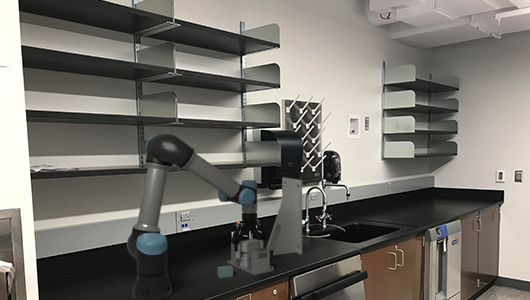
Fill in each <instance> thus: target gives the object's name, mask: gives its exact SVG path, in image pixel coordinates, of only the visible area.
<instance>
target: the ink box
mask: <svg viewBox="0 0 530 300" xmlns="http://www.w3.org/2000/svg"><path fill="white" fill-rule="evenodd" d="M254 249H259V239H256V238H250V239H245V240H241V242H240V265H241V266H244V267H250V266H251V250H254Z"/></svg>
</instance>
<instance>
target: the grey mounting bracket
mask: <svg viewBox="0 0 530 300" xmlns="http://www.w3.org/2000/svg"><path fill="white" fill-rule="evenodd" d="M281 181H282V182H281V190H282V191H281V195H282V197H281V199H282V200H281V202H280V205H279V208H278V212H277V216H276V217H275V221H274V224H273V227H272V231H271V232H270V235H269V239H268V241H267V245H266V247H265V248H266V249H269V250H270V252H271V251H273V253H272V256H279V255H286V254H293V253H296V254H298V255H303V179H297V178H291V177H282V179H281Z"/></svg>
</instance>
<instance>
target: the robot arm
mask: <svg viewBox="0 0 530 300" xmlns="http://www.w3.org/2000/svg"><path fill="white" fill-rule="evenodd" d="M144 150H145V153H146V157H145V162H144V163H145V165H146V166H147V171H146V174H145V175H146V177H145V181H144V187H143V191H142V192H143V193H142V196H141V202H140V205H139V206H140V207H139V212H138V219H137V222H136V224H134V225H133V226H132V229H131V234H130V235H129V236H128V238H127V240H126V247H127V250H128V253H129V254H130V256H131V257H132V258H134V260H136V279H135V283H134V286H133V288H132V299H134V300H165V299H167V298H169V297H170V296H171V295H172V294H173V286H172V284H171V281H170V279H169V275H168V239H167V236H166V235H164V234H162V233H161V228H160V227H159V221H160V216H161V211H162V204H163V199H164V195H165V189H166V184H167V180H168V179H167V178H168V173H169V171H170V170H171V169H172V168H173V166H174V165H175V166H176V167H177V168H179V169H185V170H187V171H189V173H192V174H193V175H195V176H197V178H199V179H201V180H202V181H204V182H206V183H207V184H209V185H210V186H211V187H213V188H215V190H217V197H218V200H219V201H220V202H221V203H228V202H231V203H232V204H233V203H234V204H238V205H240V206H241V220H242V222H241V223H239V222H237V223H236V224H235V230H234V232H233V234H232V237H231V239H230V244H231V243H232V244H234V251H236V258H238V259H240V245H239V242H240V241H242V240H243V237H244V236H245V235H246V234H247V233H249V232H254V233H255V234H256V236H257V237H258V238H259V239H258V249H259V248H265V241H266V240H267V239H268V234H267V232H266V229H265V228H264V225H263V221H262V220H260V219H259V220H258V181H257V180H254V179H253V180H252V179H246V180H242V181H241V184H240V183H239V182H238V181H236V180H235V179H234V178H232V177H231V176H229V175H228V174H226V173H224V172H223V171H222V170H221V169H219V168H217V167H216V166H215V165H213V164H212V163H211V162H209V161H207V160H206V159H205V158H203V157H202V156H200V155H199V154H197V153H196V152H195V149H194V148H193V147H192V146H190V145H189V144H188V143H186V142H185V141H184V140H182V139H181V138H179V137H178V136H176V135H174V134H171V133H165V134H164V133H163V134H162V133H160V134H159V133H158V134H156V135H154V136H153V135H152V136H151V137H150V138H149V139H148V140H147V142H146V144H145V149H144ZM258 228H259V229H258Z"/></svg>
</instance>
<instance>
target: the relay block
mask: <svg viewBox="0 0 530 300" xmlns="http://www.w3.org/2000/svg"><path fill="white" fill-rule="evenodd" d="M233 267H234V266H233V265H231V264H229V265H224V266H217V276H218V278H220V279H223V278H224V279H225V278H232V277H234V268H233Z"/></svg>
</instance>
